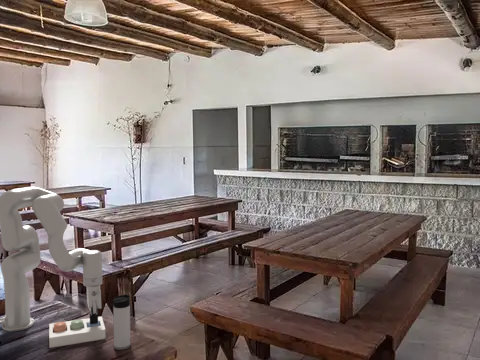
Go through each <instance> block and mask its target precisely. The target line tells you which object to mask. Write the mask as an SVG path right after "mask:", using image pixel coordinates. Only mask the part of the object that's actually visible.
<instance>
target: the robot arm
mask: <svg viewBox="0 0 480 360" xmlns="http://www.w3.org/2000/svg"><path fill="white" fill-rule="evenodd" d="M64 206H65V202H64V200H63V198H62V197H61V195H59V194H57V193H55V192H52V191H50V190H46V189H44V188H41V187H37V186H26V187H25V186H24V187H19V188H18V187H17V188H13V189H9V190H6V191H4V192H3V193H2V194H0V235H1V236H0V237H1V244H2V247H3V249H4V250H5V251H7V252H14V253H13V254H10V255H8V256H6V257H5V258H4V259H3V260H2V262H1V264H0V271H1V275H2V278H3V285H4V286H3V287H4V288H3V289H4V304H5V305H4V306H5V307H4V309H5V311H4V312H5V316H2V317H0V325H1V329H2V330H3V331H5V332H6V331H7V332H17V331H23V330H26V329H29V328H31V327H32V326H34V324H35V319H34V318H33V317H31V299H30V297H31V296H30V295H31V294H30V284H29V283H30V282H29V280H28V278H27V276H26V273H29V272H31V271H34V269H36V268H38V266H39V265H40V264H41V249H40V248H41V247H40V240H39V239H40V238H39V235H38V232H37V230H36V229H35V228H34V227H33V226H32V225H29V224H28V225H27V224H26V225H24V224H23V219H22V215H21V213H20V212H19V211H18V210H20V209H24V208H30V207H31V209H32V211H33V213H34V214H35V216H36V217H37V219H38V221H39V222H40V224H41V225H42V228H43V229H44V231H45V232H46V234H47V237H48V238H47V246H48V251H49V254H50V257H51V258H52V260H53V261H54V263H55V264H56V266H57V267H58V269H60V270H61V271H62V272H71V271H74V270H76V269H78V268H80V267H82V277H83V278H82V279H83V280H82V281H83V286H84V287H86V300H87V306H88V309H89V318H90V324H96V323H98V317H99V313H98V309H100V310H101V309H102V292H101V291H102V290H101V285H103V254H102V251H100V250H98V249H91V250H90V249H86V248H82V247H76V248H74V249H71V250H68V249H67V247H66V245H65V243H64V235H65V232H66V230H67V228H68V223H67V221H66V220H65V218H64V217H63V215H62V213H61V211H62V210H63V209H64ZM15 251H18V252H15Z"/></svg>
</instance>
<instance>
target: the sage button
mask: <svg viewBox="0 0 480 360" xmlns="http://www.w3.org/2000/svg"><path fill="white" fill-rule="evenodd" d="M73 320H74V321H73ZM73 320H71V321H72V322H71V330H75V329H82V328H83V320H80V319H73Z"/></svg>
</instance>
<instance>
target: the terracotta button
mask: <svg viewBox="0 0 480 360" xmlns="http://www.w3.org/2000/svg"><path fill="white" fill-rule="evenodd" d="M65 322H66V321H58V322H54V323H55V324H54V333H55V332H62V331H66V323H65Z"/></svg>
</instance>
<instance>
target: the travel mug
mask: <svg viewBox="0 0 480 360" xmlns="http://www.w3.org/2000/svg"><path fill="white" fill-rule="evenodd" d="M130 301H131V299H130V295H129V294H121V295H117V296H115V297H114V298H113V300H112V302H113V348H114V349H115V350H118V351H119V350H121V351H122V350H127V349H129V348H130V346H131V302H130Z"/></svg>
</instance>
